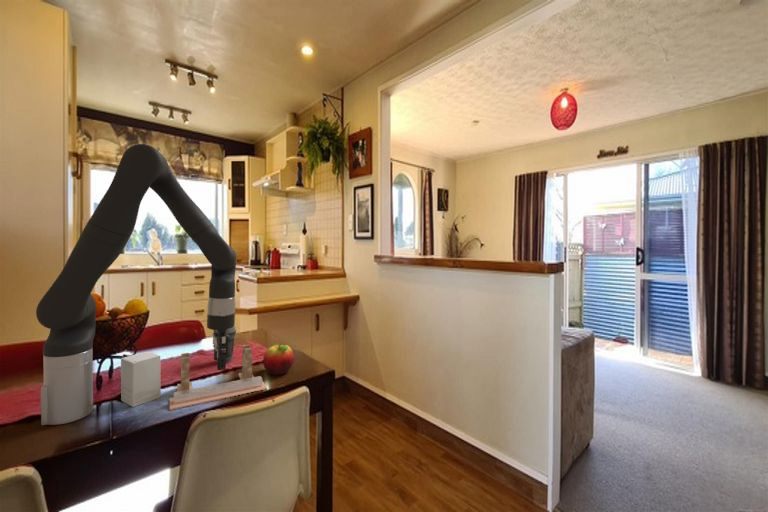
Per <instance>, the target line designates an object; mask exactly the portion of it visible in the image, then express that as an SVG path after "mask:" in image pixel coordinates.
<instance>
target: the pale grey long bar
mask: <svg viewBox="0 0 768 512" xmlns="http://www.w3.org/2000/svg"><path fill="white" fill-rule="evenodd" d="M262 381H263V377H262V376H261V375H260V376H254V377H253V378H247V379H242V380H240V379H237V380H231V381H227V382H223V383H222V382H221V383H216V384H210V385H206V386H200V387H196V388H193V389H190V390H184V391H179V392H177V391H175V392H173V397H174V404H178V403H182V402H187V401H192V400H197V399H202V398H207V397H211V396H216V395H221V394H226V393H231V392H236V391H240V390H245V389H250V388H255V387H260V386H262Z"/></svg>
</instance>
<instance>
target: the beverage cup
mask: <svg viewBox="0 0 768 512" xmlns="http://www.w3.org/2000/svg"><path fill="white" fill-rule="evenodd" d="M236 329H237V328H236V326H235V325H234V327H232V328H230V329H227V330H226V332H227V334H229V339H228V357H226V364H229V363H228V362H230V361H231V362H233V356H234V355H233V354H234V348H235V347H234V346H235V337H236V332H237V330H236ZM222 353H225V352H224V350H222ZM231 362H230V363H231Z"/></svg>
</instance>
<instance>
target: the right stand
mask: <svg viewBox="0 0 768 512" xmlns="http://www.w3.org/2000/svg"><path fill="white" fill-rule="evenodd" d="M241 355H242V358H241V360H242V363H241V367H242V369H241V373H240V372H239V373H238V378H239V380H242V379H247V378H253V377H255V376H254V373H253V370H252V369H253V348H252V347H250V344H243V345H242V354H241Z"/></svg>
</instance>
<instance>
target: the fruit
mask: <svg viewBox="0 0 768 512" xmlns="http://www.w3.org/2000/svg"><path fill="white" fill-rule="evenodd" d="M294 355H295V354H294V352H293V349H292V348H291V347H290V346H289V345H287V344H282V343H279V344H275V345H272V346H270V347H269V348H268V349H267V350H266V351H265V352H264V355H263V359H262V364H263V365H262V366H263V368H264V369H265V371H266V372H268V373H269V374H271V375H276V376H277V375H283V374H285V373H287V372H289V370H290V369H291V368H292V367H293V365H294V363H295V356H294Z"/></svg>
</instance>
